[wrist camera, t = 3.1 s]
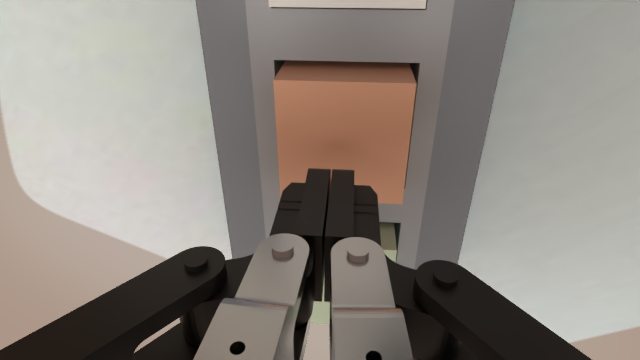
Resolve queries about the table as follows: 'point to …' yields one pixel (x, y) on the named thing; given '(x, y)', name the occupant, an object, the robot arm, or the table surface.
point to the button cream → (350, 3)
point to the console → (357, 46)
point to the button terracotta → (345, 122)
